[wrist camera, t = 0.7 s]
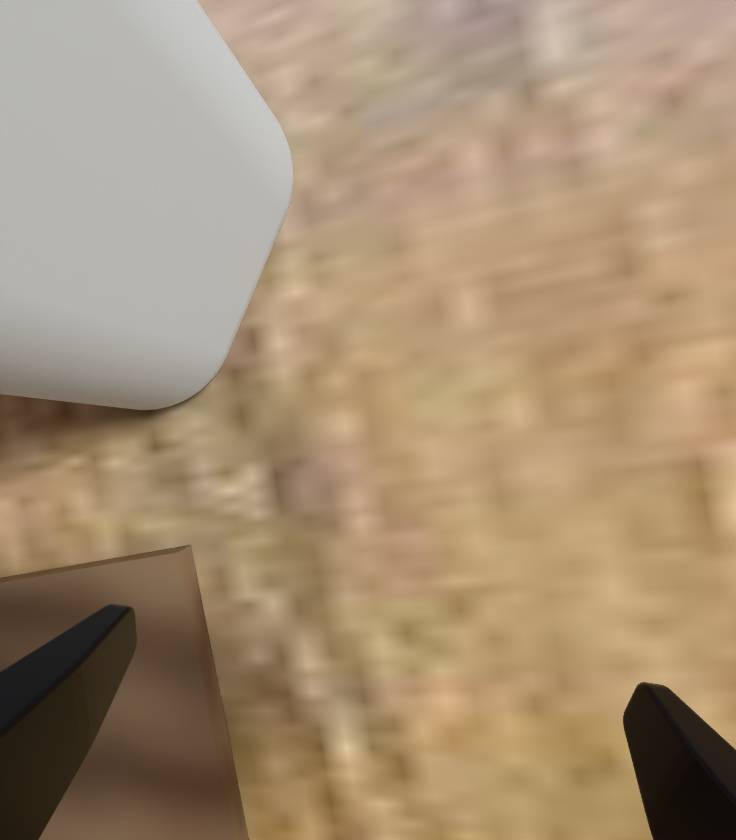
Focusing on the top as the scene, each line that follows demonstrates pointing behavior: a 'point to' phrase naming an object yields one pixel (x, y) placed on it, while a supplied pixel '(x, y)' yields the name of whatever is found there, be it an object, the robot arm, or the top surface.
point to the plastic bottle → (128, 200)
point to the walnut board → (138, 702)
